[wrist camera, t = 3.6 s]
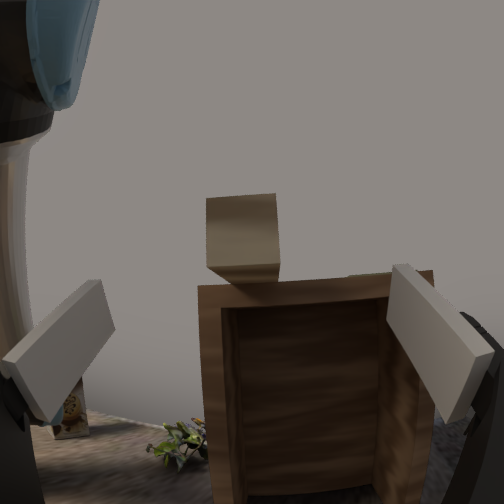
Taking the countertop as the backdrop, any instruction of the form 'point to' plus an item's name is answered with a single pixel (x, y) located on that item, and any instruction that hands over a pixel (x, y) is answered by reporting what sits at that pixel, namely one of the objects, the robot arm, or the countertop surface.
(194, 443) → the passion flower
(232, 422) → the walnut stand
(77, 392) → the coffee box
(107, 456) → the countertop surface
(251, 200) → the maple bar
